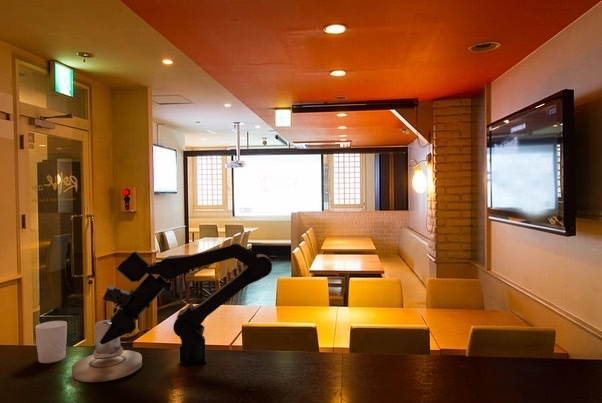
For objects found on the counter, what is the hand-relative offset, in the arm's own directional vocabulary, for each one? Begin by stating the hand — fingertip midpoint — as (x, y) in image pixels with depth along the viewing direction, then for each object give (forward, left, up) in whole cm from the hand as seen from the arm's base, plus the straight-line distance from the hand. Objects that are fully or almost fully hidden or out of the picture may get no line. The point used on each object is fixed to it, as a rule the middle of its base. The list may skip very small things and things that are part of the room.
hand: (102, 339), depth 115 cm
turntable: (-1, 0, -8) cm, 8 cm away
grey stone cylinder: (-1, 0, -4) cm, 4 cm away
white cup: (+15, -16, -9) cm, 23 cm away
